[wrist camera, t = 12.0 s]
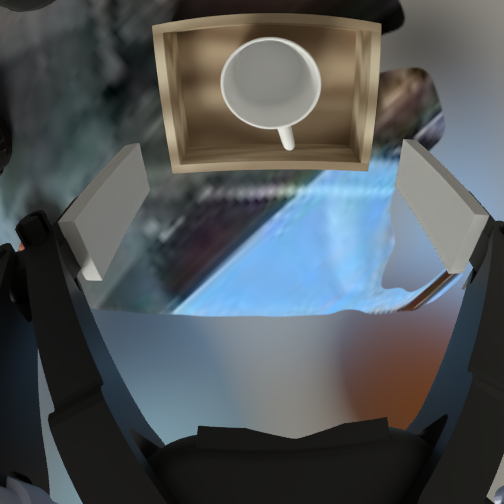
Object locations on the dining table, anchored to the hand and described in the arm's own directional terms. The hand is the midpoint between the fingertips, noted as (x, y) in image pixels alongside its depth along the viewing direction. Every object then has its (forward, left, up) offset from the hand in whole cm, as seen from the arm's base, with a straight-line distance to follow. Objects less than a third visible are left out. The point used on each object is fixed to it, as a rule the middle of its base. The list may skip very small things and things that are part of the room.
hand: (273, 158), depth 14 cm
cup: (0, +1, -22) cm, 22 cm away
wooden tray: (0, 0, -23) cm, 23 cm away
